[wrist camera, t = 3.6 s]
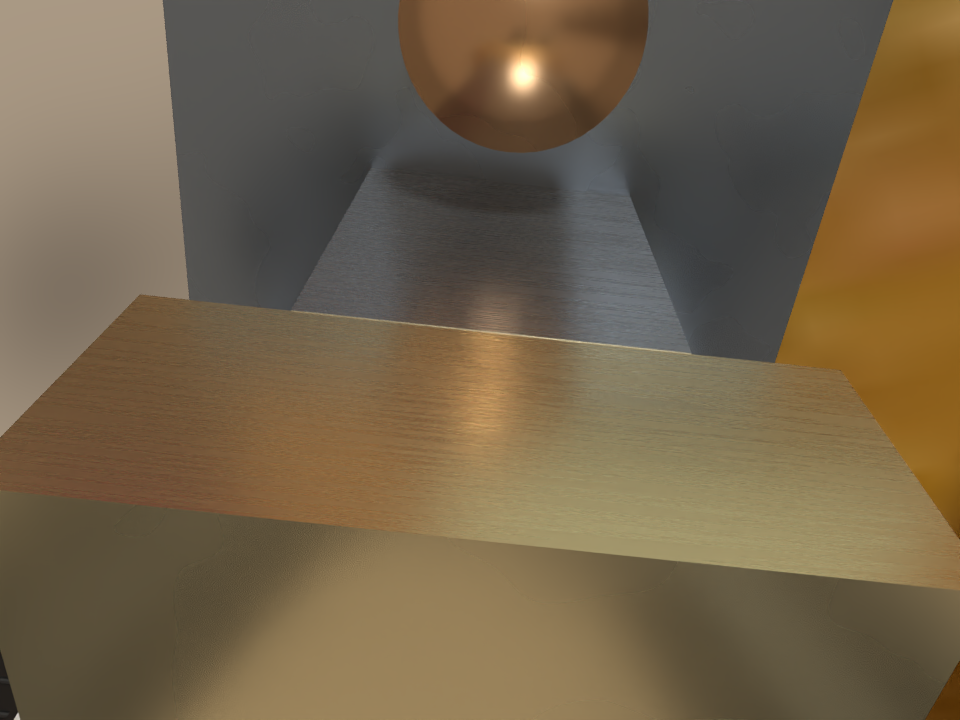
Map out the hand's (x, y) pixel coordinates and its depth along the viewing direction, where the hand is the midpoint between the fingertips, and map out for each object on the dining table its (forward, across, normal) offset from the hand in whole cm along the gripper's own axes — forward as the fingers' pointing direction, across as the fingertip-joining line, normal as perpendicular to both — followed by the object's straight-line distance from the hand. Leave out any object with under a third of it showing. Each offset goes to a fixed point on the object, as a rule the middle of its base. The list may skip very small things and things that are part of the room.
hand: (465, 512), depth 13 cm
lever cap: (-3, 0, 0) cm, 3 cm away
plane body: (+5, 0, 0) cm, 5 cm away
